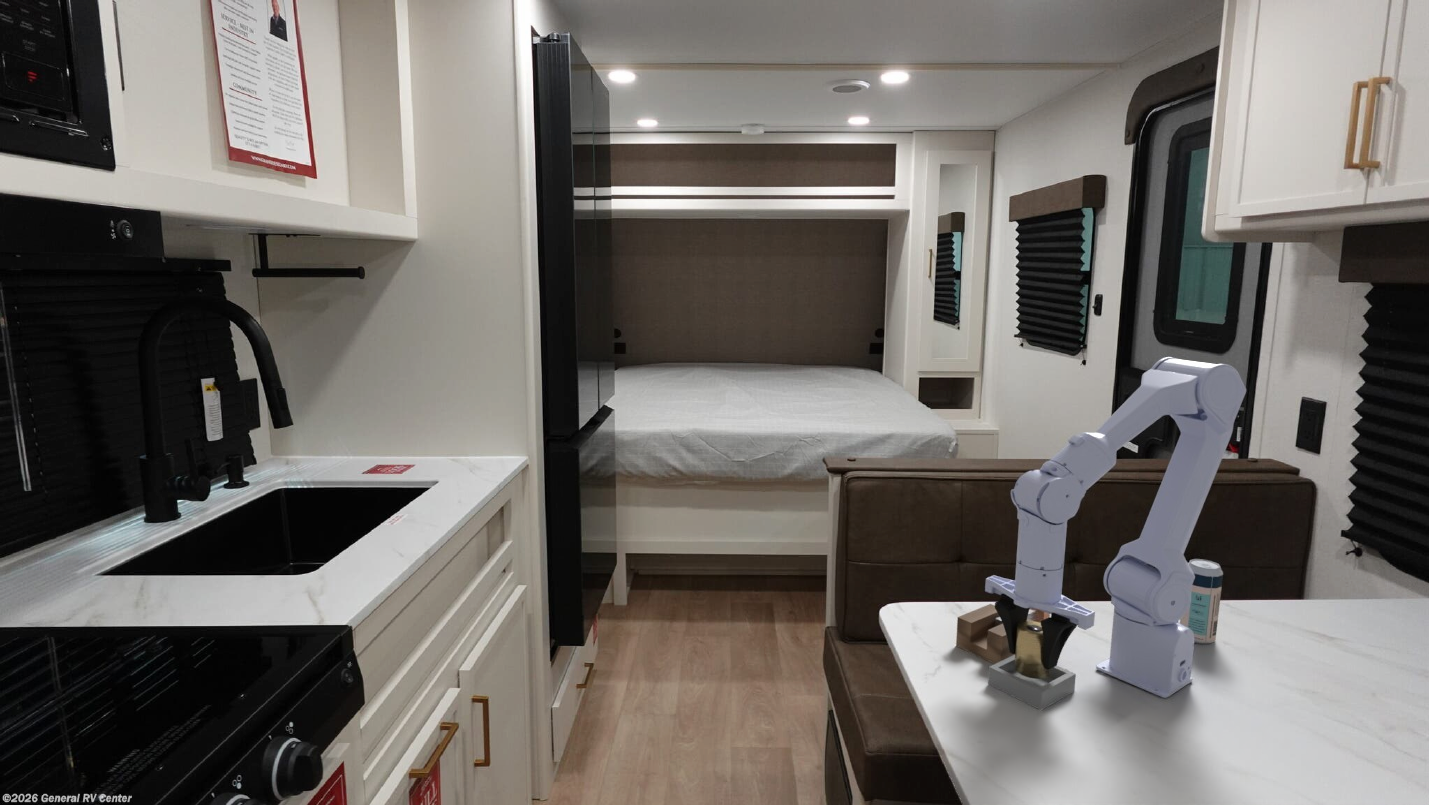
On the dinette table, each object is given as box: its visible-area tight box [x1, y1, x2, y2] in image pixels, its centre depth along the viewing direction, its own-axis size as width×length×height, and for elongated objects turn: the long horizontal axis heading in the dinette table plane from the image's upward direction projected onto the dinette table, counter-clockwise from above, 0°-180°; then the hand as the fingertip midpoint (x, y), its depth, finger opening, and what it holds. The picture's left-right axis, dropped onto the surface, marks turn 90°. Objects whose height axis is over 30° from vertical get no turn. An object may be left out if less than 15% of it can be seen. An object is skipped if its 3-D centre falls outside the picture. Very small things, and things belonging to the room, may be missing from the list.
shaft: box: [995, 607, 1051, 627], centre depth 116 cm, size 4×10×4 cm, turn 125°
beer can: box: [1179, 558, 1224, 645], centre depth 115 cm, size 5×5×12 cm
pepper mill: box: [1014, 621, 1050, 679], centre depth 102 cm, size 4×4×6 cm
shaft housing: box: [955, 603, 1035, 665], centre depth 113 cm, size 8×8×5 cm
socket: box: [987, 655, 1077, 711], centre depth 103 cm, size 8×8×2 cm
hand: (1032, 659), depth 102 cm, fingers closed on pepper mill, 4 cm apart
